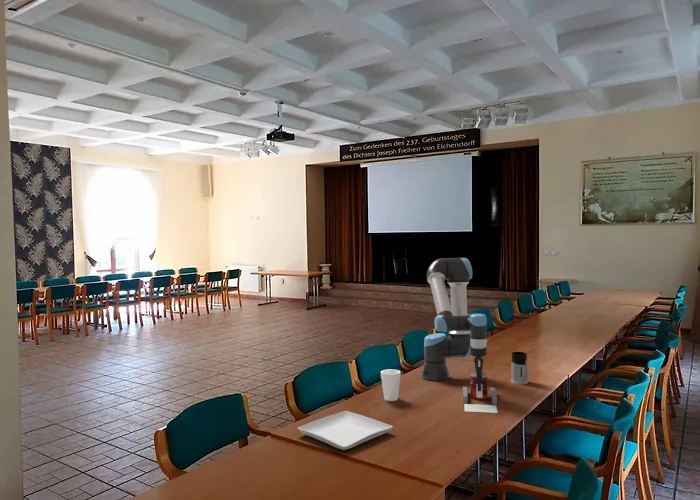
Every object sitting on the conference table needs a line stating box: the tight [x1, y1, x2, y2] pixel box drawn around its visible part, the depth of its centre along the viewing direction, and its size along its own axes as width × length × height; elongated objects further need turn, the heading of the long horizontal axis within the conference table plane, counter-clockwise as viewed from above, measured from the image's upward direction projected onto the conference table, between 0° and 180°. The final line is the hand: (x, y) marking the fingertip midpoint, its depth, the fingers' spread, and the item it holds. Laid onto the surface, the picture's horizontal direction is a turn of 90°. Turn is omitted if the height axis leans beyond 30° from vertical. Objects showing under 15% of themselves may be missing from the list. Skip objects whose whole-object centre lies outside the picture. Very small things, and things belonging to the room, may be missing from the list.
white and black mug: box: [510, 351, 534, 385], centre depth 271 cm, size 9×14×15 cm, turn 21°
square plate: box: [297, 410, 394, 451], centre depth 205 cm, size 27×27×4 cm
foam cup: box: [380, 368, 402, 402], centre depth 249 cm, size 10×9×13 cm
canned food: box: [469, 371, 489, 400], centre depth 248 cm, size 8×8×11 cm
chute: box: [462, 386, 499, 414], centre depth 241 cm, size 15×28×3 cm, turn 168°
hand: (479, 394), depth 249 cm, fingers closed on canned food, 8 cm apart
